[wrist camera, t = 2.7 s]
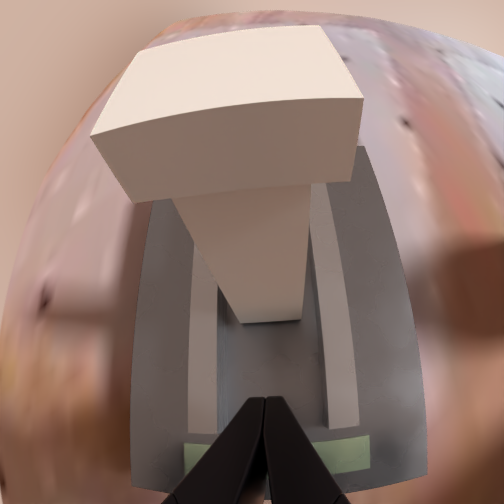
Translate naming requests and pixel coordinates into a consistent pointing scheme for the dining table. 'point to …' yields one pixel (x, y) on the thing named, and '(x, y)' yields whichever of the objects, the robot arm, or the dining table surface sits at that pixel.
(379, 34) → the dining table surface
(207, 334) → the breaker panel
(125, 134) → the handle
